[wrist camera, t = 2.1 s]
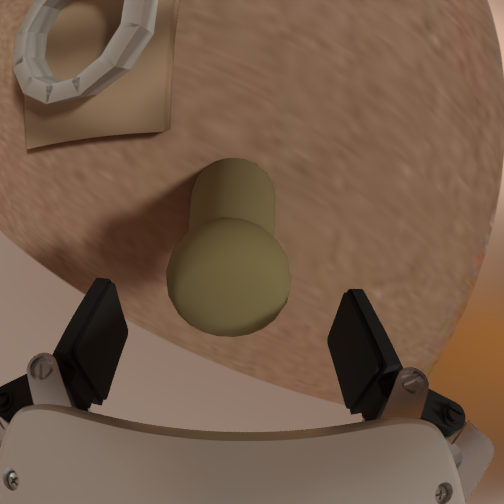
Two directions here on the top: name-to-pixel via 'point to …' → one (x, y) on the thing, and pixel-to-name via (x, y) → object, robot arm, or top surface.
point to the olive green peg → (230, 253)
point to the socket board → (119, 99)
